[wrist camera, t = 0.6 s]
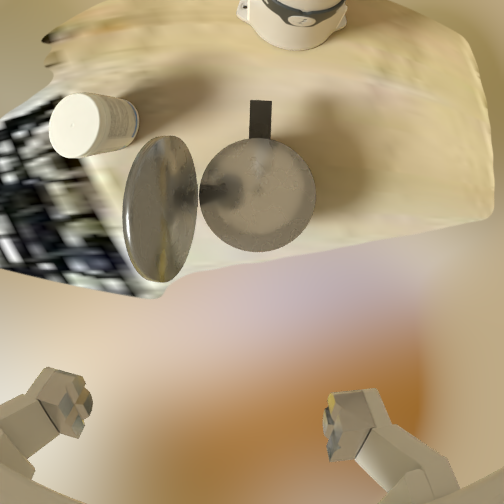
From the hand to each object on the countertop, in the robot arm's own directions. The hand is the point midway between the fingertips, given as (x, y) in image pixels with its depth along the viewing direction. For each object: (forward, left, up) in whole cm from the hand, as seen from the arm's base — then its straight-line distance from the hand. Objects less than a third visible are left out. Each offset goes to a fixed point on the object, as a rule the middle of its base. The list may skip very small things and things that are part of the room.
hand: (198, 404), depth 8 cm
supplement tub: (-11, -23, -45) cm, 51 cm away
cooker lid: (0, -7, -25) cm, 26 cm away
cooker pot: (-3, +2, -44) cm, 44 cm away
